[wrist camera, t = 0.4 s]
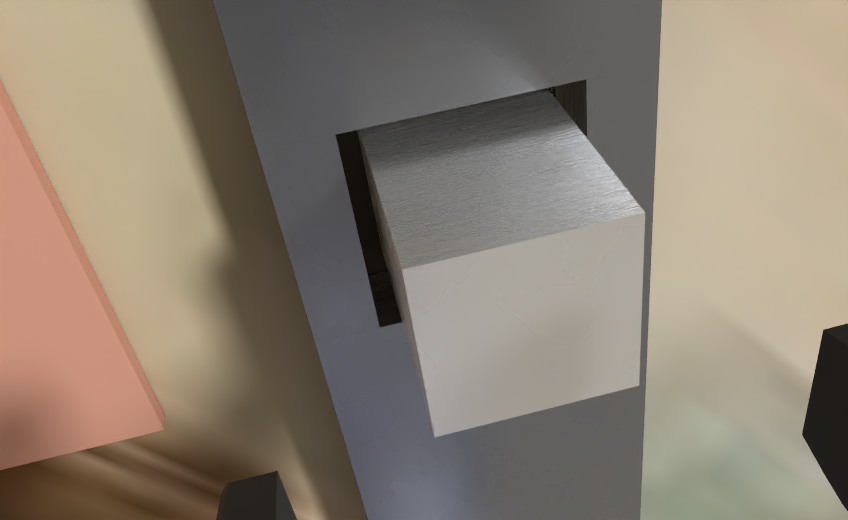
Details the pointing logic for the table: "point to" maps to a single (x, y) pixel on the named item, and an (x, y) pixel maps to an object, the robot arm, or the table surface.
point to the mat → (56, 325)
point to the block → (373, 294)
